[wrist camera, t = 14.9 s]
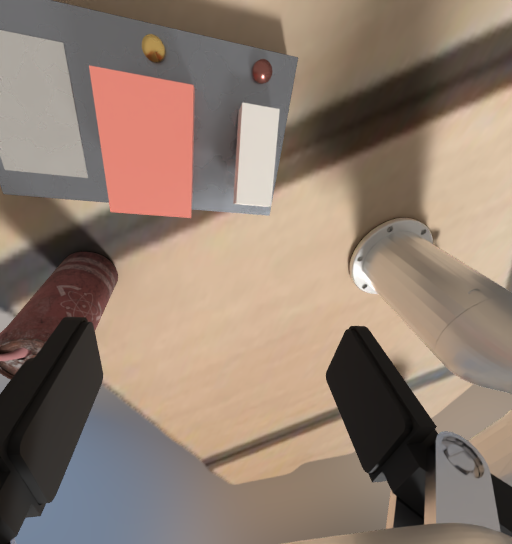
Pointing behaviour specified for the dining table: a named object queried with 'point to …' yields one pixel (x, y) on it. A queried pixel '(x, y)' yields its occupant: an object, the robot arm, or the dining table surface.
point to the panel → (132, 59)
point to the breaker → (255, 155)
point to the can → (58, 306)
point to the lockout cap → (145, 142)
